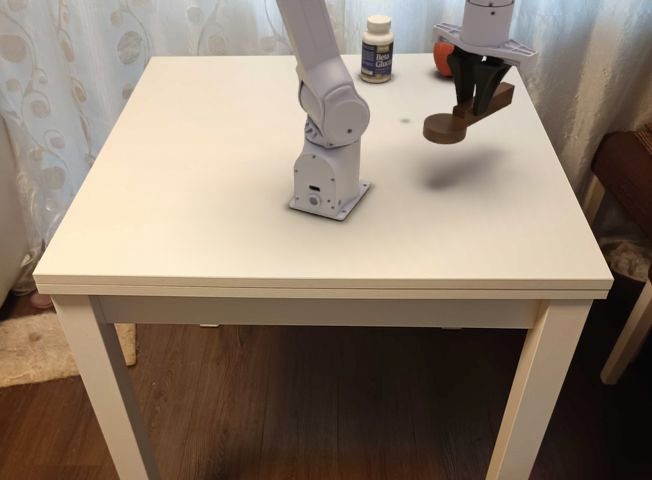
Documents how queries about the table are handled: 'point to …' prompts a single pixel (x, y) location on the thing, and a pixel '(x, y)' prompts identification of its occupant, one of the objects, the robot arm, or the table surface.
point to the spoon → (463, 117)
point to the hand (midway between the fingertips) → (471, 110)
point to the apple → (442, 57)
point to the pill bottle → (377, 49)
